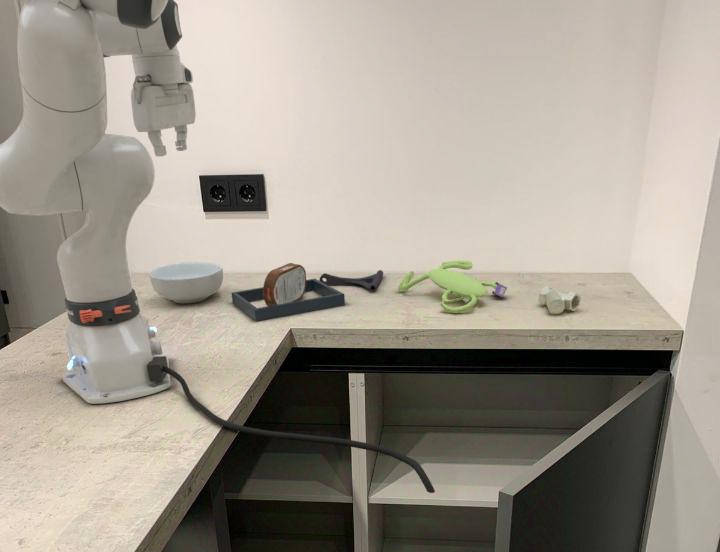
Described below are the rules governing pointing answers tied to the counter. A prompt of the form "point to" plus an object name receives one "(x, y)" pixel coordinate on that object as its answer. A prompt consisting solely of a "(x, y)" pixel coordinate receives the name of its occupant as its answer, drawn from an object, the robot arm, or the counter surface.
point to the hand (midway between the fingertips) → (171, 153)
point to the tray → (327, 301)
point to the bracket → (354, 280)
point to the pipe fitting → (559, 300)
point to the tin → (284, 284)
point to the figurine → (455, 284)
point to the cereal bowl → (187, 281)
